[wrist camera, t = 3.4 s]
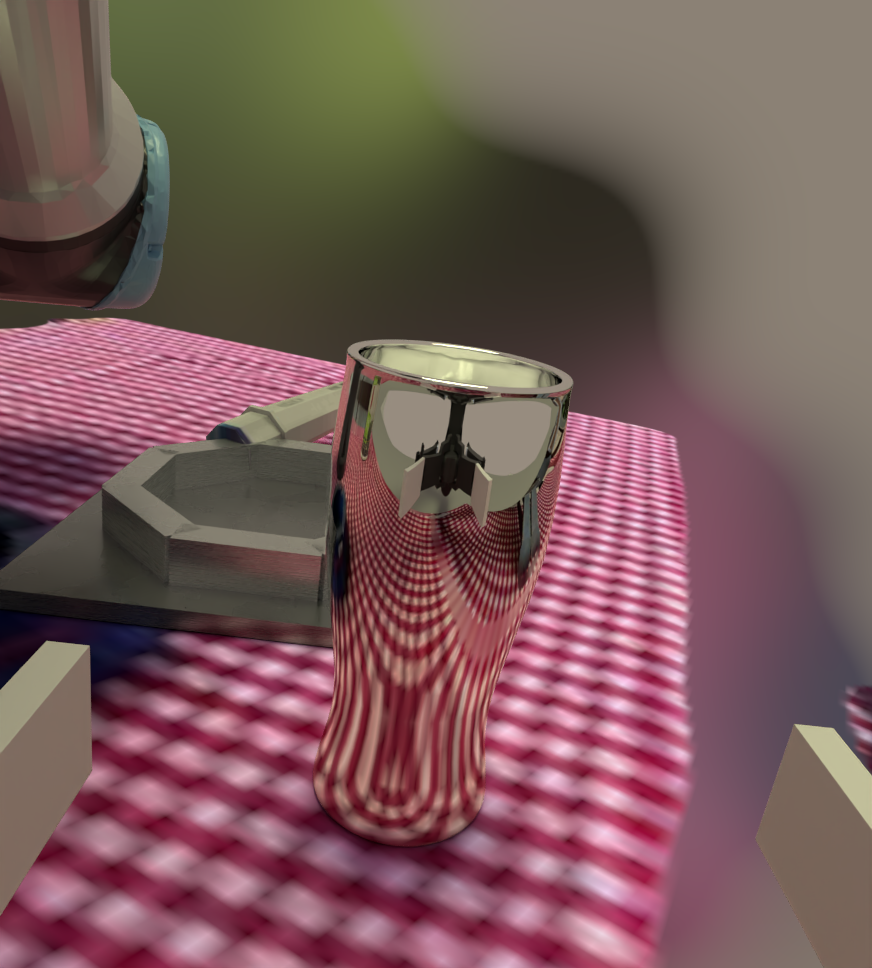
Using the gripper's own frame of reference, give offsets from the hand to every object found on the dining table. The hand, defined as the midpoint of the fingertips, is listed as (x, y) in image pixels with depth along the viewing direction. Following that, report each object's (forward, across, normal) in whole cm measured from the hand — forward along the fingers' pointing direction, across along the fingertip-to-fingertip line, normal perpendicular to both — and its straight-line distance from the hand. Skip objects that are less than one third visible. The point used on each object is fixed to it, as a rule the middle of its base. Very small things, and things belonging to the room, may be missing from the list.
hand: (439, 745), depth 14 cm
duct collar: (+29, -8, -9) cm, 31 cm away
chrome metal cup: (+10, 0, -10) cm, 14 cm away
